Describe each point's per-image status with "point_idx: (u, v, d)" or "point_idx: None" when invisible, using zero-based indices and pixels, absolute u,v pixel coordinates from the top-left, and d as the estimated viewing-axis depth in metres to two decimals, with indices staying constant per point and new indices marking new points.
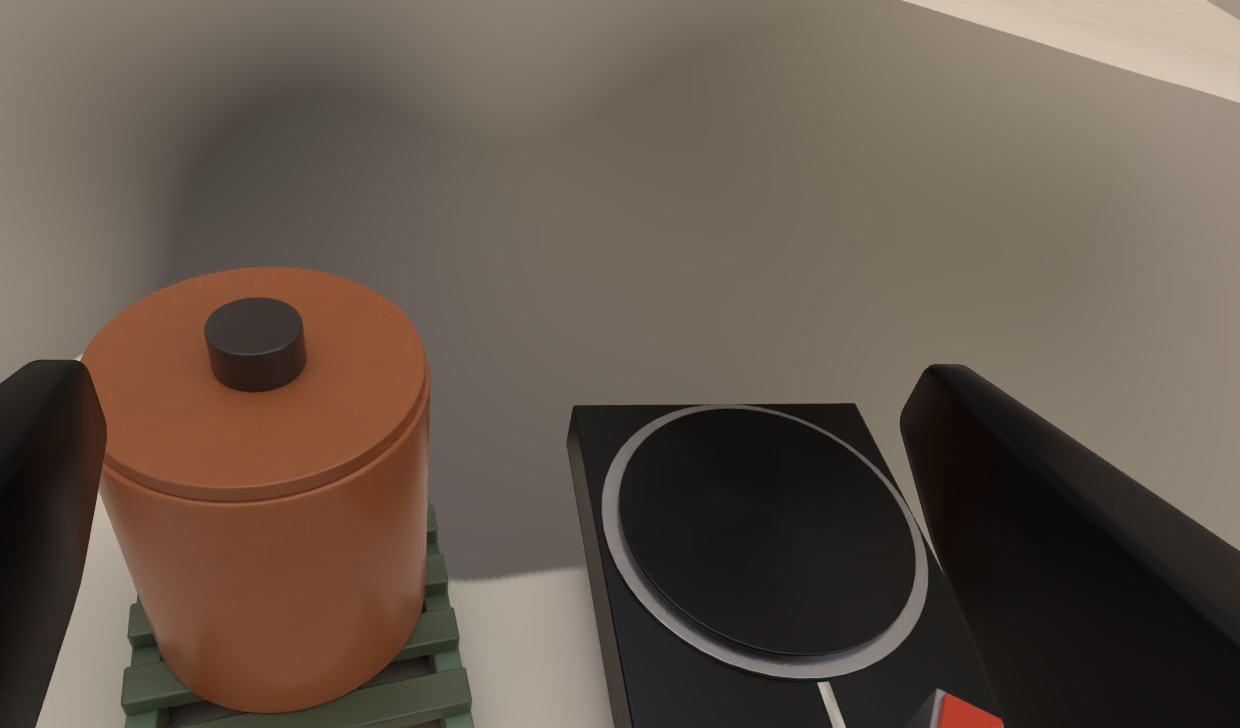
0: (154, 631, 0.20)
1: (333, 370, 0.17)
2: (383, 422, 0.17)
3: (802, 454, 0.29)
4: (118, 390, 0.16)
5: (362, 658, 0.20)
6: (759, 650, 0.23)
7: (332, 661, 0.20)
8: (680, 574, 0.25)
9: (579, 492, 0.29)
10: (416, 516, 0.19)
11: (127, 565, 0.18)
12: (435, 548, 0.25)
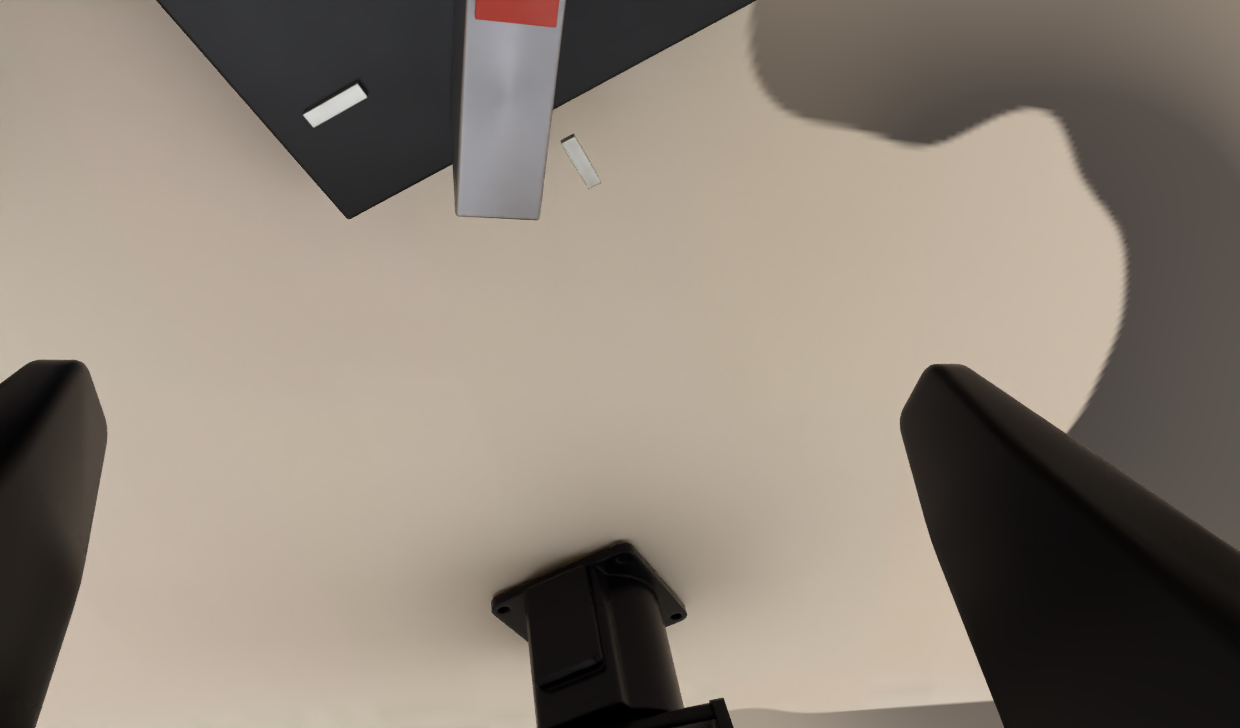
0: None
1: None
2: None
3: None
4: None
5: None
6: None
7: None
8: None
9: None
10: None
11: None
12: None
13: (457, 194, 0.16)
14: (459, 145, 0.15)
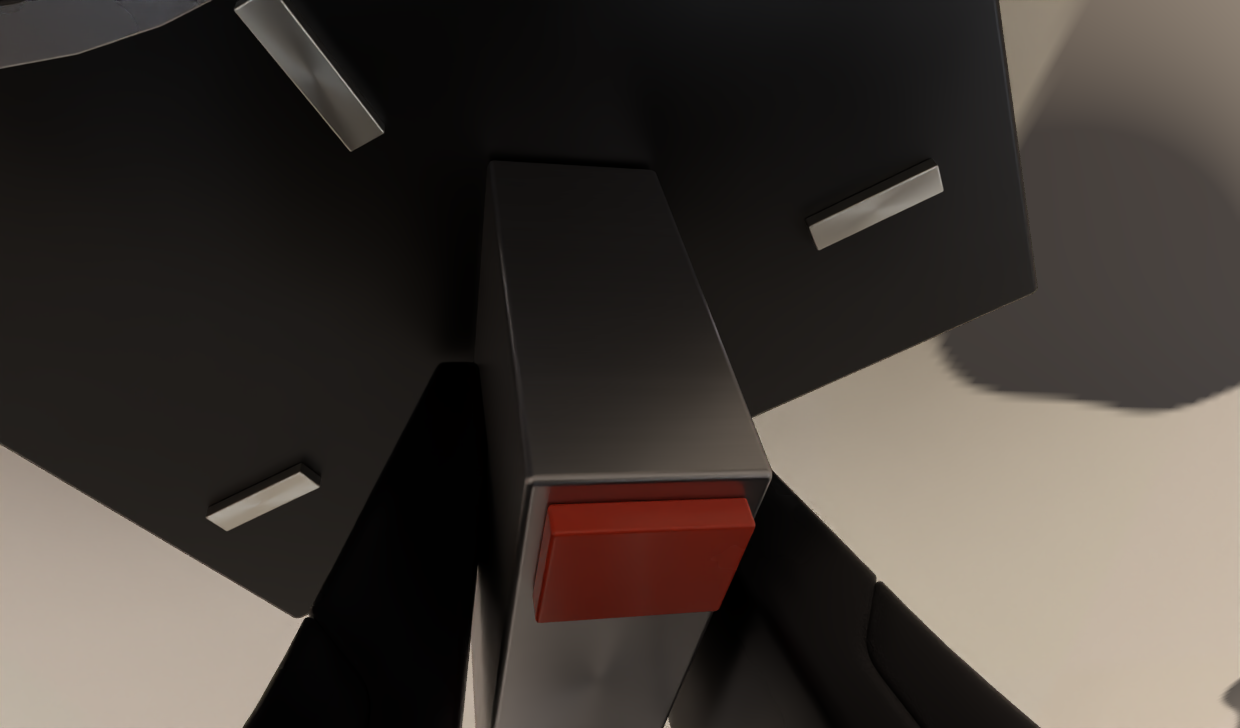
0: None
1: None
2: None
3: None
4: None
5: None
6: None
7: None
8: None
9: None
10: None
11: None
12: None
13: None
14: None
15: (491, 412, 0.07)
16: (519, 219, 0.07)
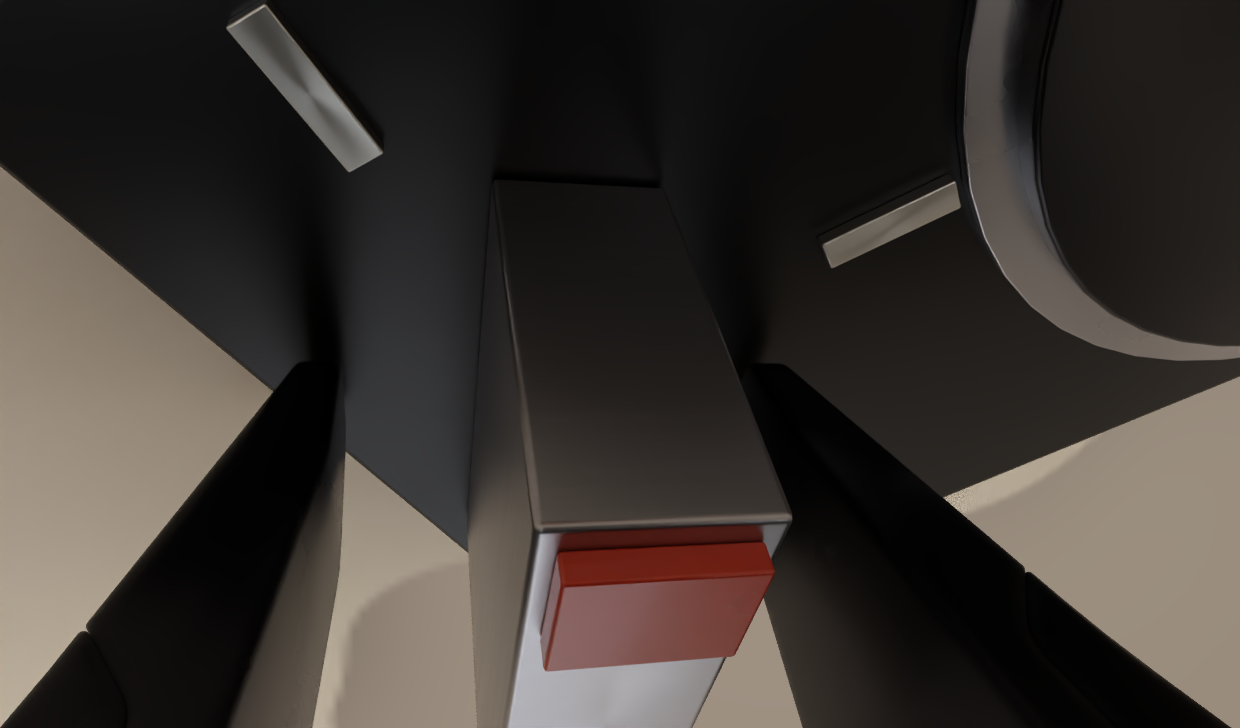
0: None
1: None
2: None
3: None
4: None
5: None
6: (1051, 7, 0.07)
7: None
8: None
9: None
10: None
11: None
12: None
13: None
14: None
15: (496, 442, 0.07)
16: (524, 242, 0.07)
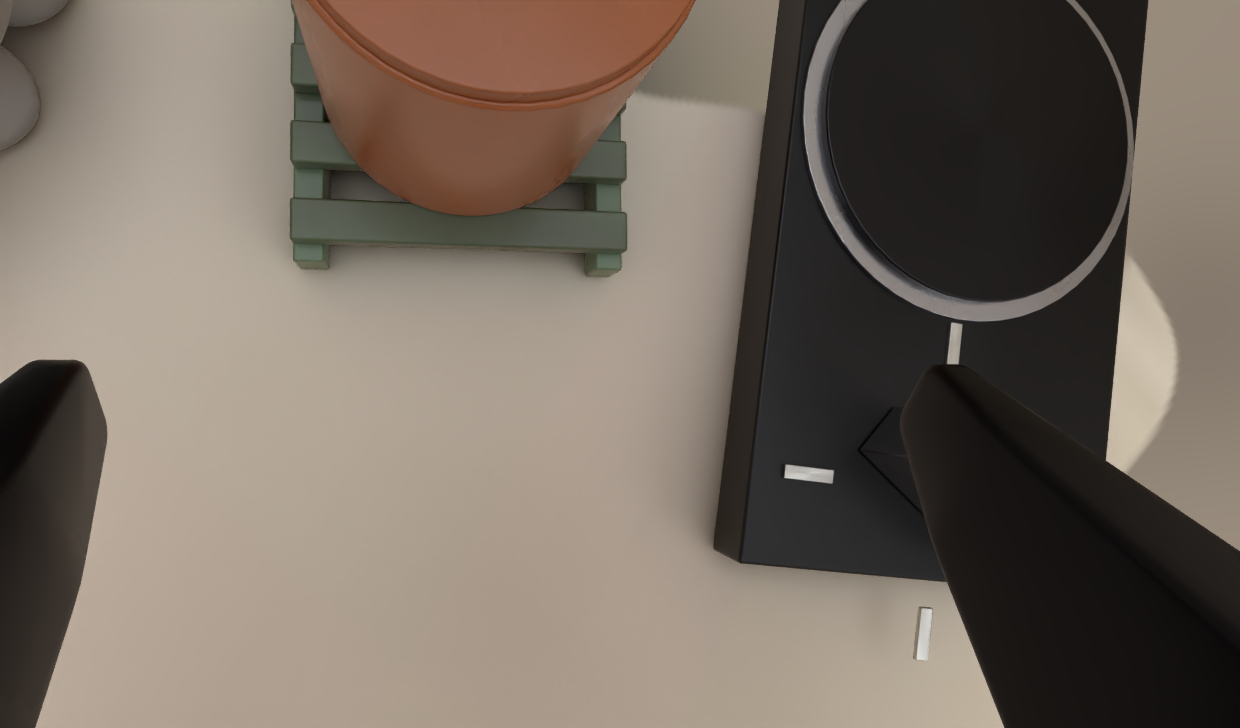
0: (328, 109, 0.18)
1: None
2: (650, 24, 0.13)
3: (1057, 57, 0.24)
4: None
5: (535, 193, 0.19)
6: (913, 278, 0.23)
7: (509, 196, 0.19)
8: (867, 174, 0.22)
9: (785, 18, 0.24)
10: None
11: (309, 55, 0.16)
12: None
13: None
14: None
15: None
16: (883, 446, 0.22)
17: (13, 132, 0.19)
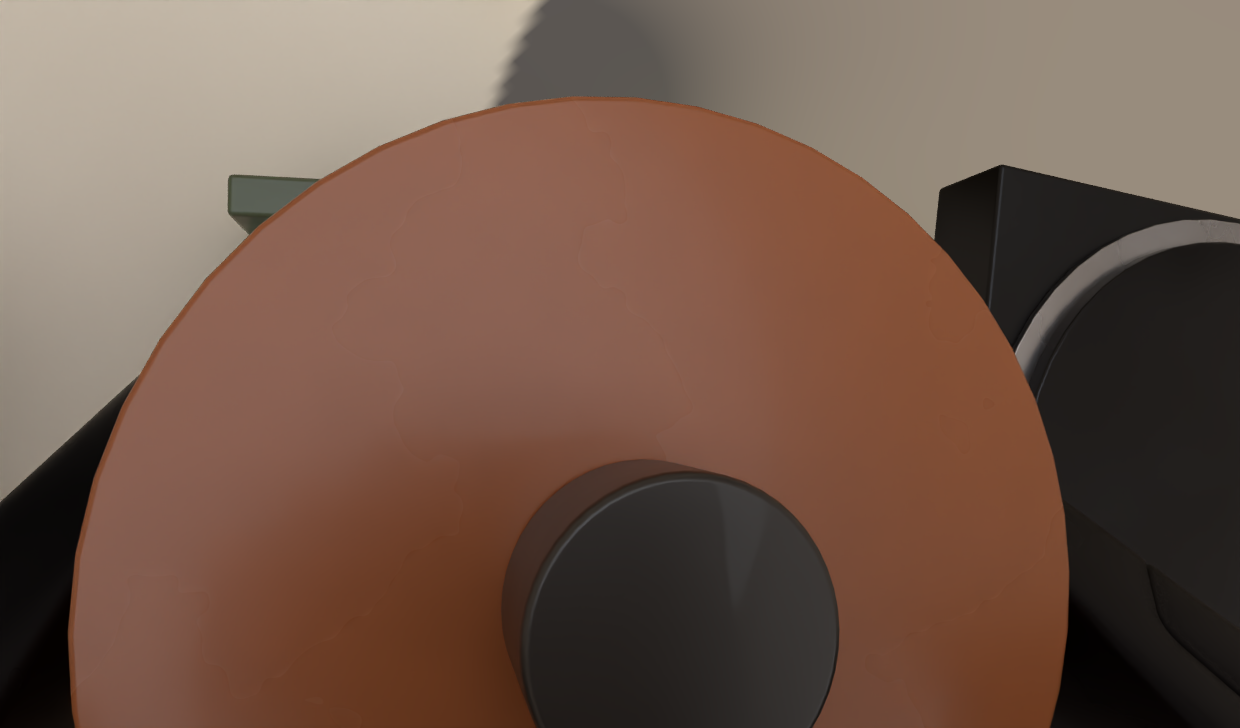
0: None
1: (838, 652, 0.06)
2: None
3: None
4: (218, 709, 0.05)
5: None
6: None
7: None
8: None
9: None
10: None
11: None
12: None
13: None
14: None
15: None
16: None
17: None
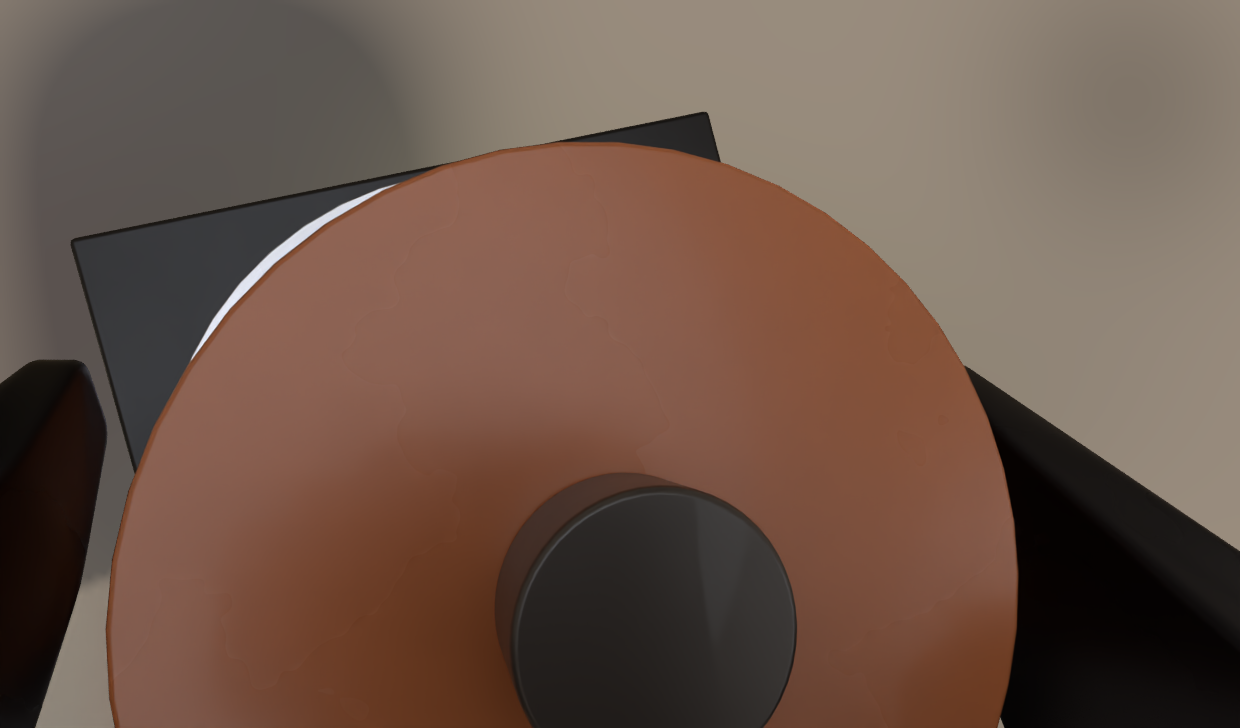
0: None
1: (803, 648, 0.06)
2: None
3: None
4: (240, 699, 0.05)
5: None
6: None
7: None
8: None
9: None
10: None
11: None
12: None
13: None
14: None
15: None
16: None
17: None
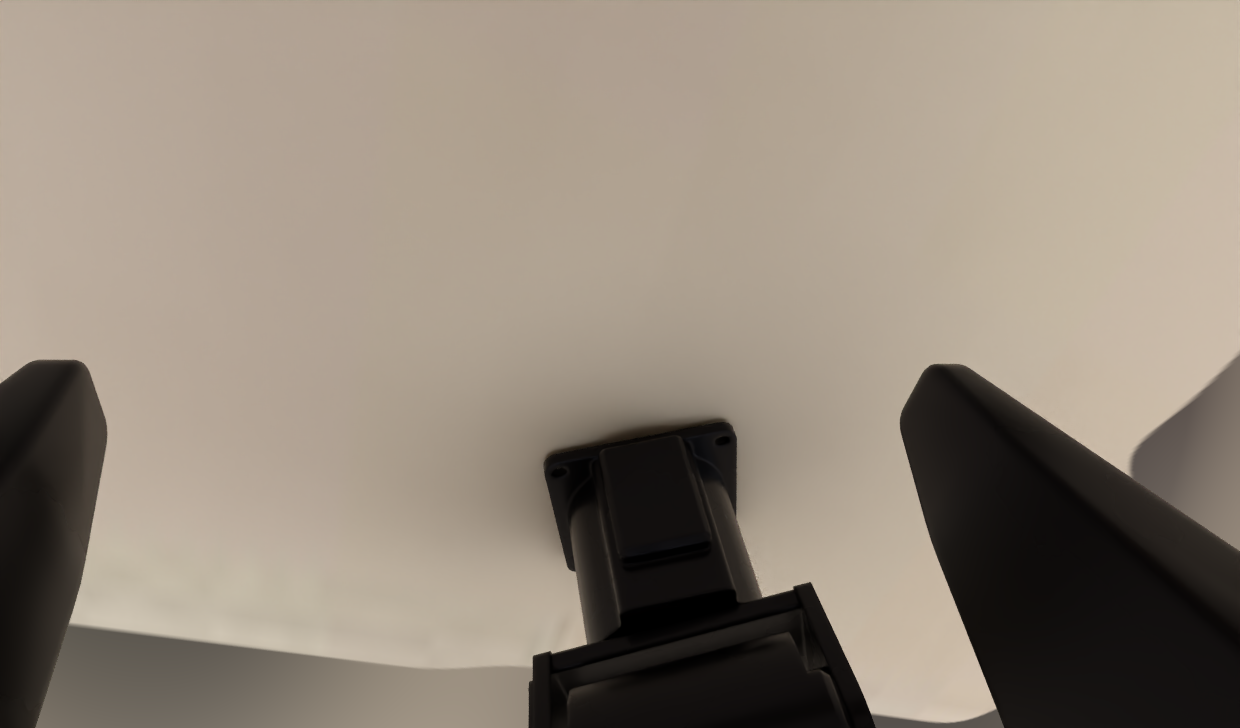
0: None
1: None
2: None
3: None
4: None
5: None
6: None
7: None
8: None
9: None
10: None
11: None
12: None
13: None
14: None
15: None
16: None
17: None
